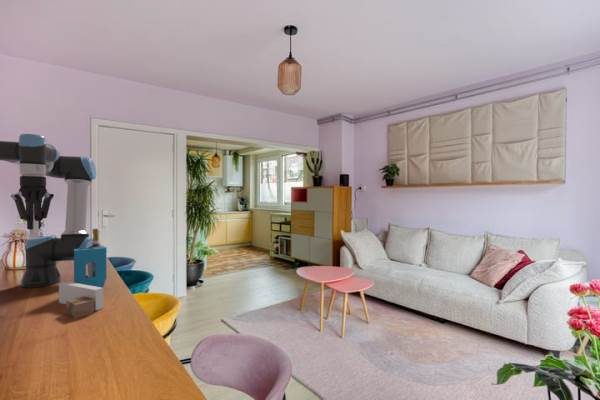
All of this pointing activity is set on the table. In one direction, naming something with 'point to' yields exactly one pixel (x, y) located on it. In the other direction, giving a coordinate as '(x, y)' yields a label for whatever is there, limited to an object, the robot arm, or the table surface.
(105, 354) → the table surface
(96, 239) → the liquor
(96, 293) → the grey board
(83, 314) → the walnut block
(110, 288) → the table surface
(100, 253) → the block
